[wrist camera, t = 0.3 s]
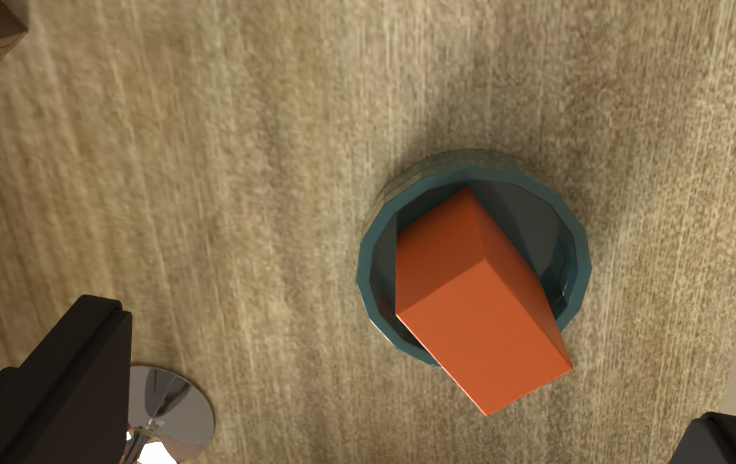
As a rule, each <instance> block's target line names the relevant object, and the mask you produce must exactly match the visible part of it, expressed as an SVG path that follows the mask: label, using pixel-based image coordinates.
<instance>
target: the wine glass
mask: <svg viewBox="0 0 736 464" xmlns="http://www.w3.org/2000/svg"><path fill="white" fill-rule="evenodd" d="M214 424H215V422H214V416H213V412H212V409H211V407H210V405H209V403H208V401H207V400H206V398H205V396H204V395H203V394H202V393H201V392H200V391H199V389H197V388H196V387H195V386H194V385H193V384H192V383H190V382H189V381H188V380H186V379H184V378H183V377H181V376H179V375H177V374H175V373H173V372H171V371H168V370H164V369H161V368H158V367H151V366H130V388H129V411H128V435H127V443H126V447H125V450H124V453H123V457H122V459H121V461H120V463H119V464H137V462H142V463H146V464H178V463H182V462H185V461H187V460H190V459H192V458H194V457H195V456H197V455H198V454H200V453H201V452H202V451H203V450H204V449H205V448H206V447H207V446H208V444H209V442H210V441H211V439H212V436H213V433H214Z"/></svg>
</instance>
